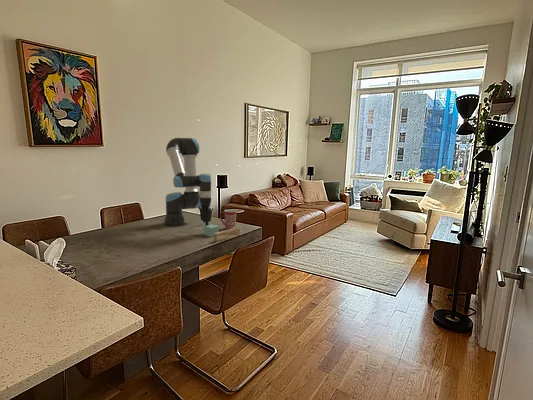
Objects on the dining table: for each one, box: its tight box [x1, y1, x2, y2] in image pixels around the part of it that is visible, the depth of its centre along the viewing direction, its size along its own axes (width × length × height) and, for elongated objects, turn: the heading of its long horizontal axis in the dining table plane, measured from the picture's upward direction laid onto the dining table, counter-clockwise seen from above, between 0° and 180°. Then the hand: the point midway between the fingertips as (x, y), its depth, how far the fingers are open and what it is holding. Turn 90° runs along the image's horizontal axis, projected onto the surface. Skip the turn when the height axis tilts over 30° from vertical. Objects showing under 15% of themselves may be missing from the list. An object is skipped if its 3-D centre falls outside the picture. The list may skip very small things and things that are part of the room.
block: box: [203, 223, 220, 238], centre depth 213 cm, size 7×7×6 cm
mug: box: [219, 209, 238, 230], centre depth 230 cm, size 13×9×14 cm
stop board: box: [213, 226, 241, 243], centre depth 207 cm, size 5×20×5 cm, turn 141°
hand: (205, 230), depth 217 cm, fingers closed
